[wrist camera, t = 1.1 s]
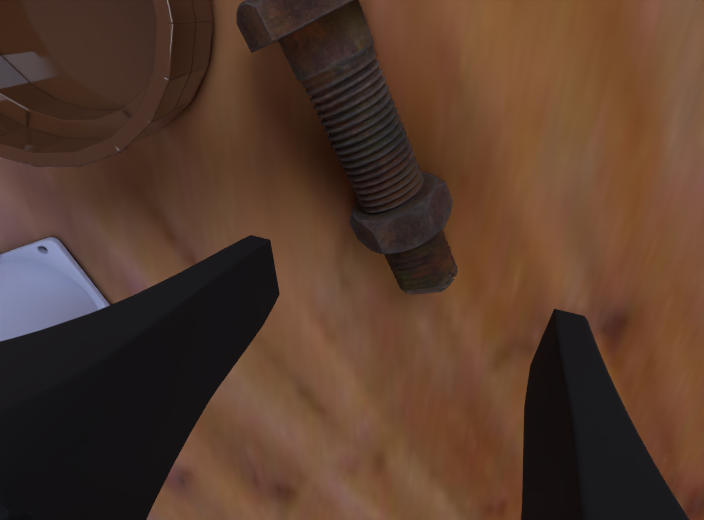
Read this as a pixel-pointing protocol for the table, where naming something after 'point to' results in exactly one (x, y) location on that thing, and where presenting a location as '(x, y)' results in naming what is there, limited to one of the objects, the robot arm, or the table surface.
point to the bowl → (95, 74)
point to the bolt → (362, 133)
